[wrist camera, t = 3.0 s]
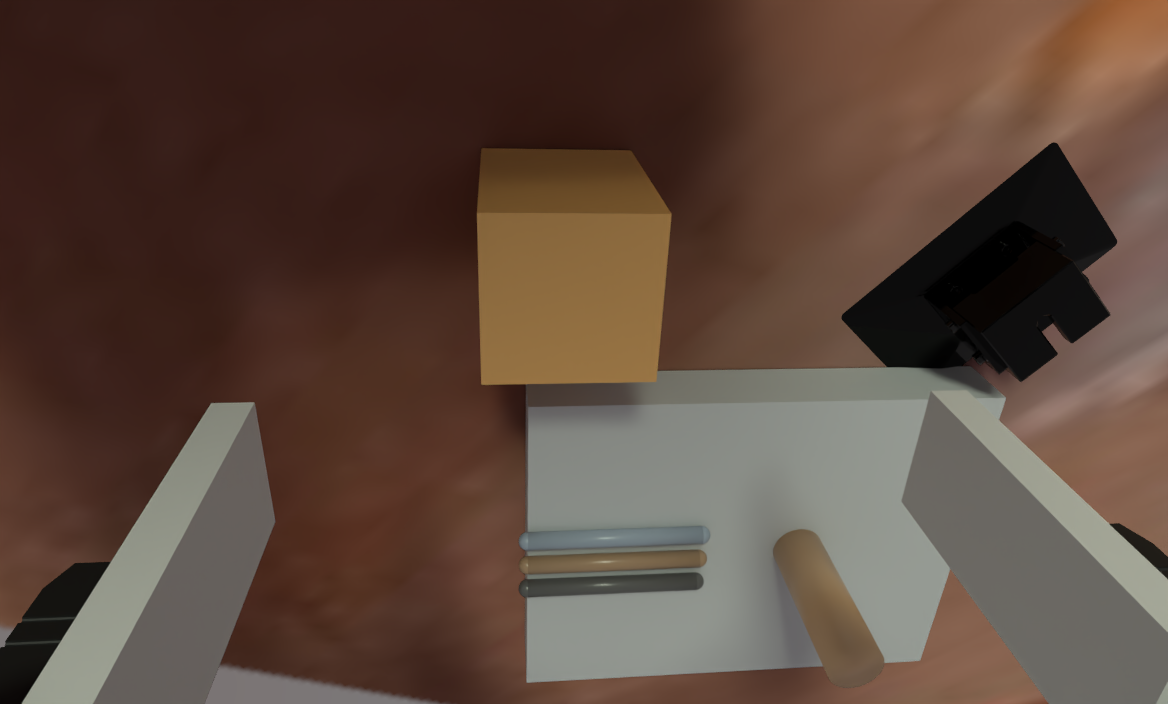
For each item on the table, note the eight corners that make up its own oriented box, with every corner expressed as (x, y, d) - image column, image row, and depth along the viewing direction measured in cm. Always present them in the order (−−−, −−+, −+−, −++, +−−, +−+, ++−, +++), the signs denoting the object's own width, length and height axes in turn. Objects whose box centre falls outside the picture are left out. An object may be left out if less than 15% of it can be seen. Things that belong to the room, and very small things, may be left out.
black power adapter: (891, 423, 34) (945, 490, 30) (791, 317, 31) (835, 376, 27) (1154, 223, 31) (1255, 268, 27) (1069, 84, 28) (1167, 110, 24)
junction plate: (517, 637, 37) (522, 818, 29) (516, 372, 30) (523, 516, 23) (895, 619, 39) (992, 784, 31) (970, 366, 32) (1116, 496, 25)
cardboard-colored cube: (484, 287, 28) (481, 385, 22) (481, 147, 26) (476, 212, 20) (622, 287, 29) (656, 381, 23) (630, 150, 27) (671, 213, 21)
